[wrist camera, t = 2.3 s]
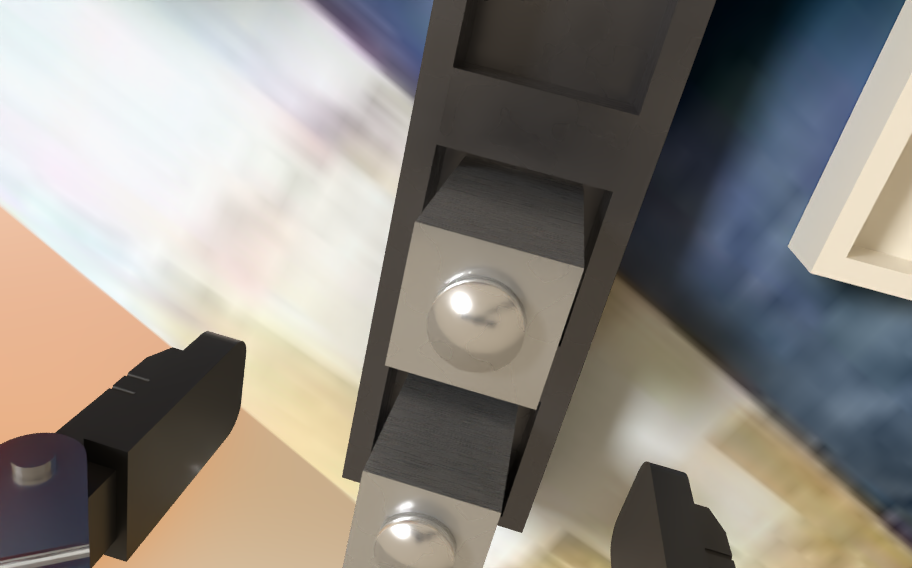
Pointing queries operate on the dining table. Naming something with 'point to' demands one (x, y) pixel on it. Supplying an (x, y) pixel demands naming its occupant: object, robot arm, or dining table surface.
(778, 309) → the dining table surface
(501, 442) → the square metal peg
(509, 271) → the silver knobbed block
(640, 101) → the dark grey compartment tray
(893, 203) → the parts tray
